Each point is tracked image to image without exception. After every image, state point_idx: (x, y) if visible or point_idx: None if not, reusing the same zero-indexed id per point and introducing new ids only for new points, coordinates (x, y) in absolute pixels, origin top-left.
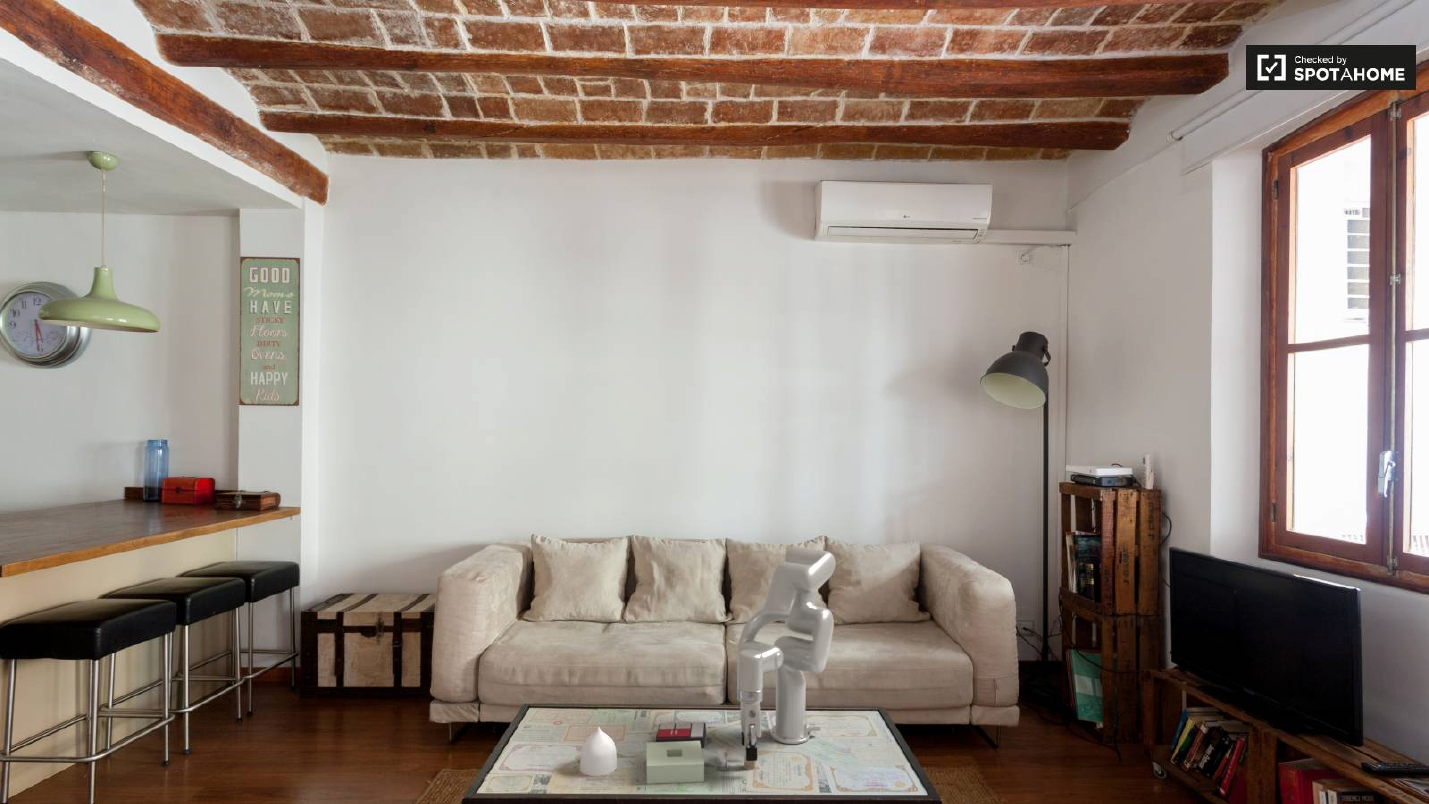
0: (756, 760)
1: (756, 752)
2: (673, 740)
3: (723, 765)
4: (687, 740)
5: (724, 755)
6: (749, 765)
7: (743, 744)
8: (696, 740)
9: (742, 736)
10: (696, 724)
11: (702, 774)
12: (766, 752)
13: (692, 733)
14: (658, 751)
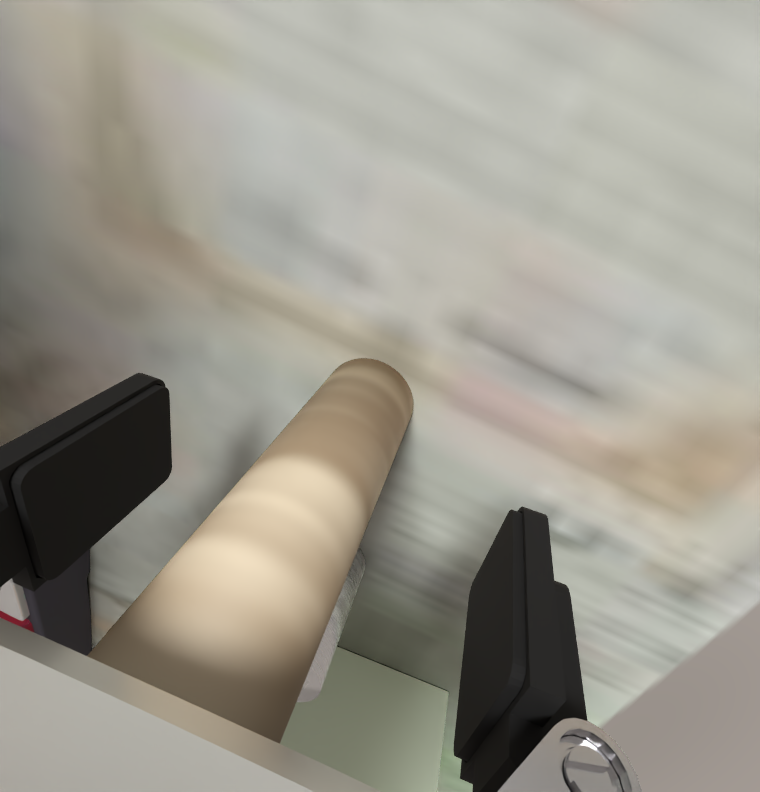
0: (542, 517)
1: (549, 609)
2: None
3: (352, 598)
4: (53, 619)
5: (325, 666)
6: (401, 440)
7: (161, 473)
8: (47, 588)
9: (85, 548)
10: None
11: (439, 743)
12: (126, 111)
13: None
14: None
